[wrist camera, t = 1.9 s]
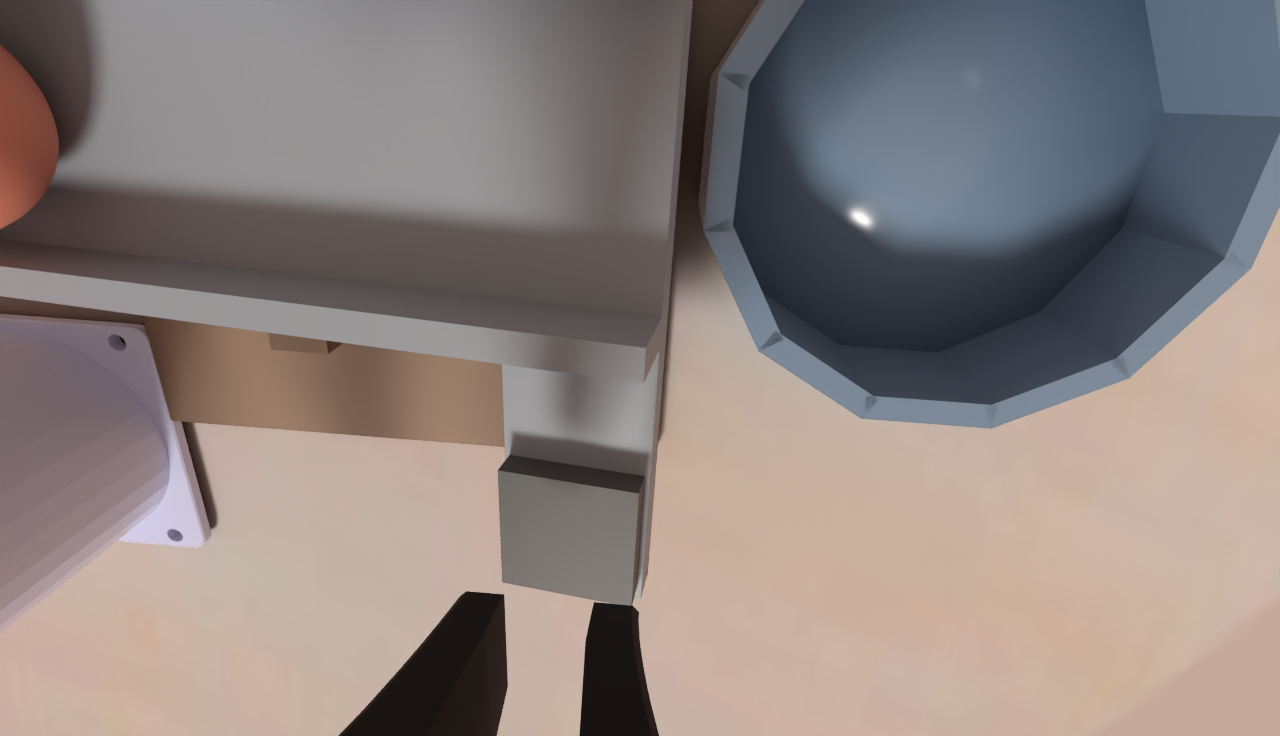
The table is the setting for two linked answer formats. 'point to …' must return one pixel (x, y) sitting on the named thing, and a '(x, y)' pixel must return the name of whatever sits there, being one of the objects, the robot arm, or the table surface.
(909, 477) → the table surface
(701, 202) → the bowl
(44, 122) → the ball
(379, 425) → the catapult base
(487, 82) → the lever
